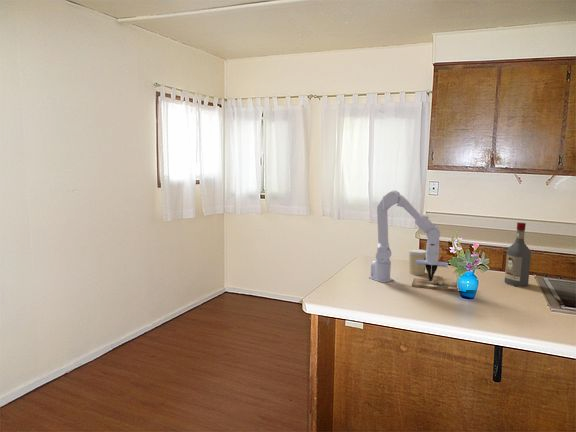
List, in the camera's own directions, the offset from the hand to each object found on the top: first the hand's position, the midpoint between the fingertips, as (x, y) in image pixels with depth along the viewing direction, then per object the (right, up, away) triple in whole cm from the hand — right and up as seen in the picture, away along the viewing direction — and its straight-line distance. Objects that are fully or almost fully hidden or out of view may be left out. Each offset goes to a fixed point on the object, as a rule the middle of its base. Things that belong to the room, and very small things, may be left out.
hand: (430, 280), depth 209 cm
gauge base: (+4, -3, -1) cm, 4 cm away
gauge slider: (+3, -1, -2) cm, 4 cm away
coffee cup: (0, 0, +22) cm, 22 cm away
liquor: (+43, -3, +5) cm, 43 cm away
